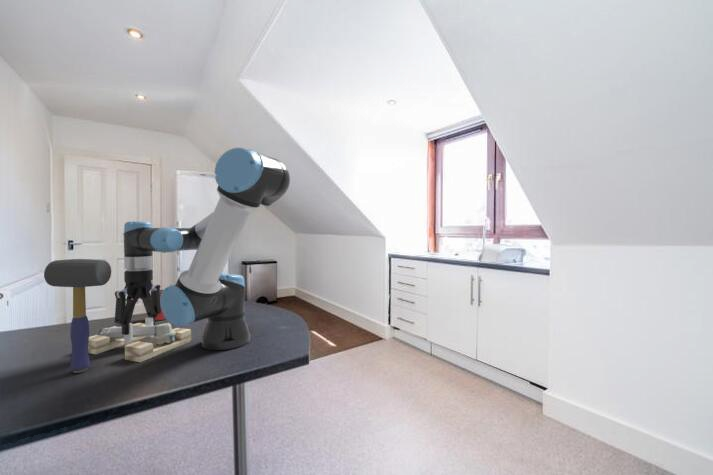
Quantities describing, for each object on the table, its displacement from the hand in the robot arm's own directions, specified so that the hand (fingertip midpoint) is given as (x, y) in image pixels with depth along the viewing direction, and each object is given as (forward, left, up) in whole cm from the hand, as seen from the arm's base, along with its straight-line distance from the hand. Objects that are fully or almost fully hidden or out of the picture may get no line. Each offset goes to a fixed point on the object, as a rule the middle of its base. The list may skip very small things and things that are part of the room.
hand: (139, 340), depth 101 cm
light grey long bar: (0, 0, -1) cm, 1 cm away
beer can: (+22, -26, -2) cm, 34 cm away
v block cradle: (0, 0, -2) cm, 2 cm away
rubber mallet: (-3, +18, -2) cm, 18 cm away
